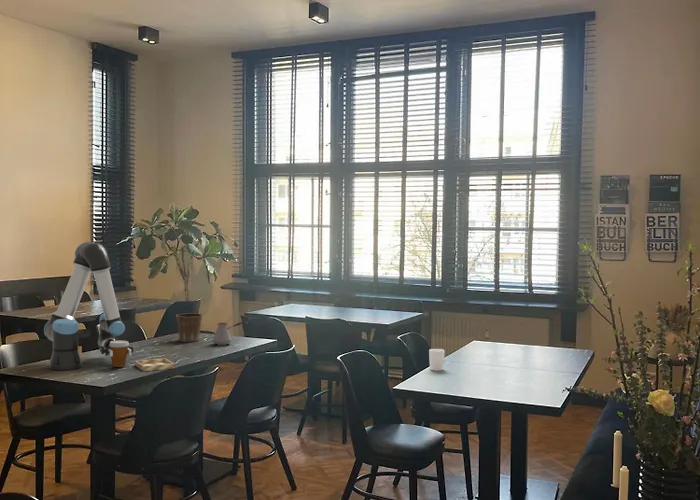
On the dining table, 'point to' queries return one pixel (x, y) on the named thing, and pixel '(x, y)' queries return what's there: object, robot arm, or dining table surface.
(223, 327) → the coffee pot
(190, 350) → the dining table surface
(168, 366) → the oak tray
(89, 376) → the dining table surface
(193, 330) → the plant pot
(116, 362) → the disposable coffee cup
